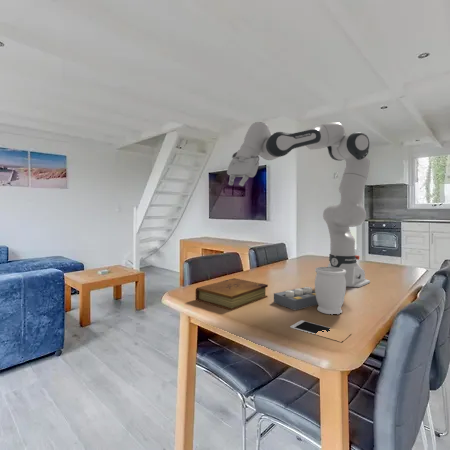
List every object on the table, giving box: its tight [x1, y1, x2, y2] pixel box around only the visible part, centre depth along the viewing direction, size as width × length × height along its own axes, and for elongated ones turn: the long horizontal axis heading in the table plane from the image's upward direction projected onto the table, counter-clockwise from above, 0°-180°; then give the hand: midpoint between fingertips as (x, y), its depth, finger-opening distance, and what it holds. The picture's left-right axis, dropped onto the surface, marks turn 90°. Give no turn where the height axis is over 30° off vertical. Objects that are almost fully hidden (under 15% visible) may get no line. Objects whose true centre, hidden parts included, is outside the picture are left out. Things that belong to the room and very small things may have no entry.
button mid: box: [294, 288, 303, 296], centre depth 117 cm, size 3×3×3 cm
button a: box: [285, 289, 294, 298], centre depth 115 cm, size 3×3×3 cm
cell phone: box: [289, 319, 331, 335], centre depth 90 cm, size 8×16×1 cm, turn 48°
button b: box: [303, 286, 313, 294], centre depth 120 cm, size 3×3×3 cm
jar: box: [314, 266, 347, 316], centre depth 108 cm, size 11×10×15 cm
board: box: [273, 287, 319, 311], centre depth 117 cm, size 16×11×4 cm
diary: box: [195, 277, 269, 311], centre depth 123 cm, size 23×19×6 cm
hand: (235, 185), depth 134 cm, fingers open, 8 cm apart
